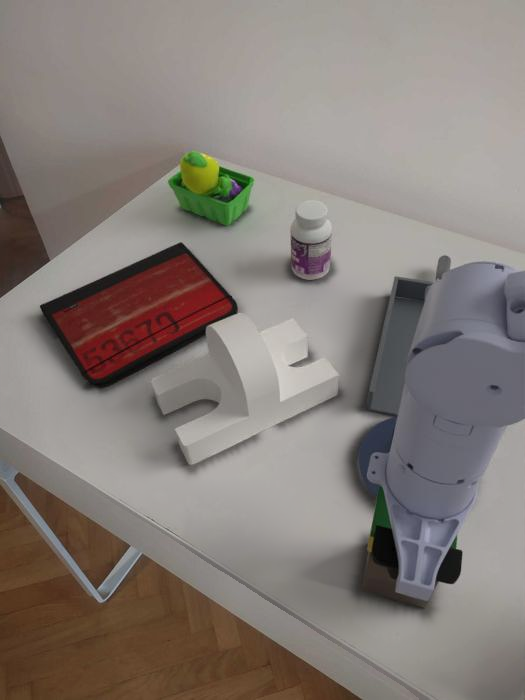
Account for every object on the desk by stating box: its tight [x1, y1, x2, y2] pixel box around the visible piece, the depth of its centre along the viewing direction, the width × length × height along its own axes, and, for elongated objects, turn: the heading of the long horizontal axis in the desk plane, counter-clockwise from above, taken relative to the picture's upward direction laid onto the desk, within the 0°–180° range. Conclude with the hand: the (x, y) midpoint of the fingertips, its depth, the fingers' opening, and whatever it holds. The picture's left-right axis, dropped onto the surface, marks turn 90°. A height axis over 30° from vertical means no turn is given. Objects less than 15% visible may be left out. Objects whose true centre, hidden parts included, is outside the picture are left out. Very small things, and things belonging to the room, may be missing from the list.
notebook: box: [39, 241, 239, 388], centre depth 73 cm, size 16×2×21 cm
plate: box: [357, 416, 398, 502], centre depth 57 cm, size 11×11×1 cm
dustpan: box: [365, 254, 452, 417], centre depth 68 cm, size 25×12×3 cm, turn 163°
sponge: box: [366, 486, 458, 552], centre depth 44 cm, size 4×6×4 cm, turn 73°
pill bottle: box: [290, 199, 333, 281], centre depth 75 cm, size 5×5×10 cm
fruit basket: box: [167, 150, 255, 227], centre depth 84 cm, size 11×9×11 cm
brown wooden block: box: [361, 551, 440, 609], centre depth 48 cm, size 4×6×8 cm
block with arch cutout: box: [150, 312, 340, 466], centre depth 60 cm, size 18×10×11 cm, turn 118°
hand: (410, 535), depth 45 cm, fingers open, 6 cm apart
